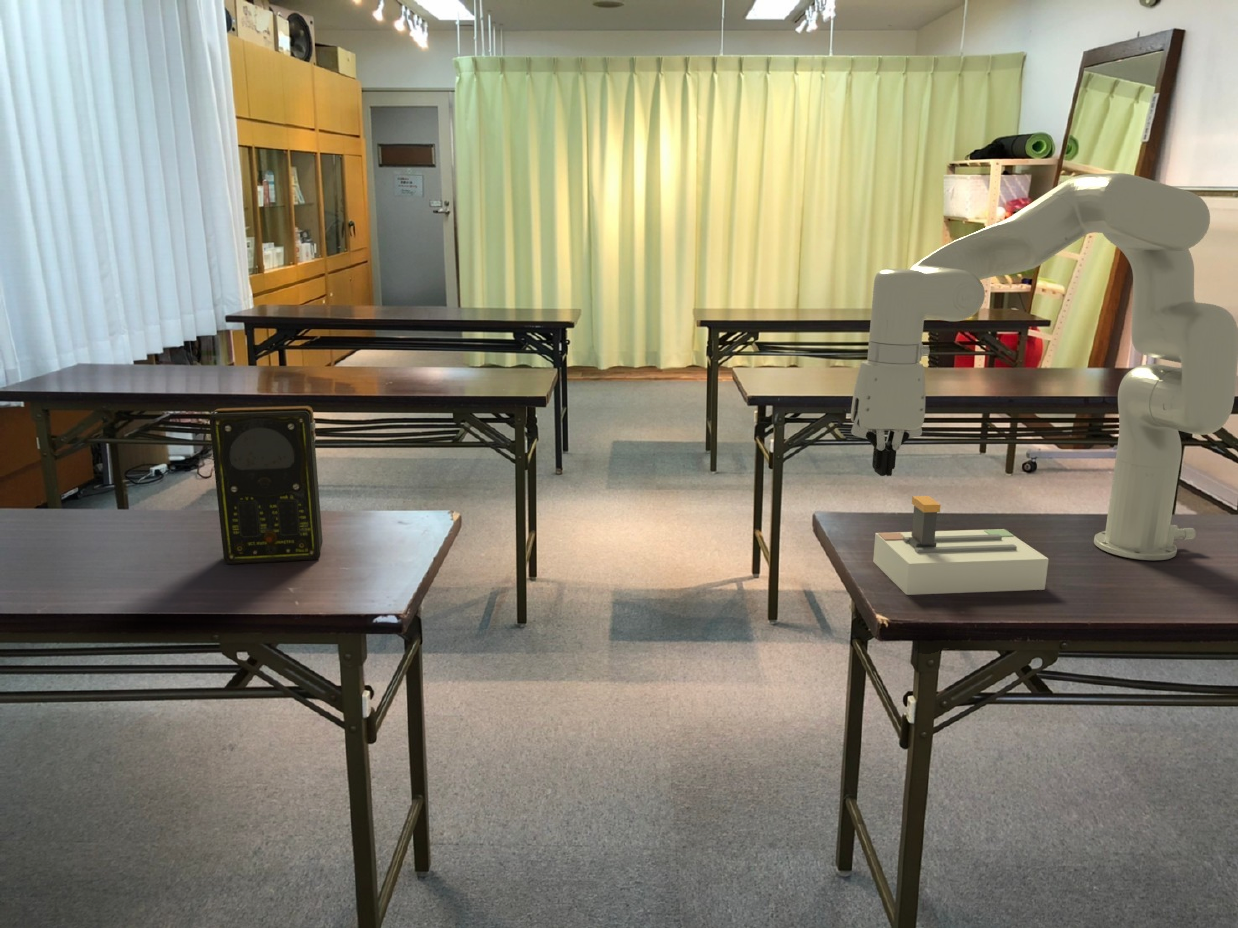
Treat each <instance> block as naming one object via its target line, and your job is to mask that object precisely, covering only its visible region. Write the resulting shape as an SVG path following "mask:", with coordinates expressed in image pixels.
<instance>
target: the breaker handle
mask: <svg viewBox="0 0 1238 928" xmlns="http://www.w3.org/2000/svg"><path fill="white" fill-rule="evenodd" d="M911 504H912V505H913V514H912V515H913V516H912V525H911V526H912V527H911V532H912V537H909V544H910V545H911V546H912V547H914V548H918V547H936V542H935V541H934V540H935V531H936V530H937V529H936V527H937V517H938V516H937V515H938V513H940V512H941V504H940V503H939V502H937V501H936V500H935V499H933V498H932V497H930V496H929V495H913V496H912V497H911Z"/></svg>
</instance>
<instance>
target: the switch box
mask: <svg viewBox="0 0 1238 928" xmlns="http://www.w3.org/2000/svg"><path fill="white" fill-rule="evenodd" d="M874 536H875V537H874V545H873V547H874V548H873V549H874V550H873V561H872V562H873V563H874V564H875V565H876V567H878V568H879V569H880V570H881V571H882V572H883V573H884V574H885V575H886V576H887V578H889V579H890V581H892V582H893V583H894V584H895V585H896V587H898V588H899V589H900V590H901V591H902V592H903V593H904V594H905V595H906V596H907V595H908V596H909V595H912V596H913V595H932V594H934V595H938V594H962V593H963V594H964V593H986V592H987V593H990V592H992V593H993V592H1014V591H1015V592H1017V591H1018V592H1019V591H1020V592H1021V591H1033V590H1034V591H1037V590H1039V591H1042V590H1045V589H1046V583H1047V582H1046V580H1047V574H1048V567H1049V558H1048V557H1047V556H1045V555H1044V554H1042V553H1041V552H1040V551H1037V549H1034V548H1033V547H1032V546H1030V545H1028V543H1025V542H1024V541H1022V539H1019V537H1017V536H1015V535H1014V534H1013V533H1011V532H1009V530H1007V529H1006V528H1002V529H1001V528H1000V529H999V528H997V529H996V528H995V529H965V530H964V529H963V530H962V529H961V530H935V540H934V541H935V542H936V547H918V548H914V547H912V546H911V545H910V544H909V537H912V531H899V532H898V531H897V532H896V531H895V532H875V534H874Z"/></svg>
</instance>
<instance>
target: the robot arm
mask: <svg viewBox="0 0 1238 928" xmlns="http://www.w3.org/2000/svg"><path fill="white" fill-rule="evenodd" d="M1210 223H1211V213H1210V209H1209V207H1208V205H1207V203H1206V202H1205V201H1204V199H1203V198H1202V197H1201V196H1199V195H1197V193H1194V192H1191V191H1190V190H1186V189H1184V188H1183V189H1182V188H1179V187H1175V186H1172V185H1168V184H1165V183H1162V182H1159V181H1156V180H1152V179H1150V178H1146V177H1143V176H1139V175H1134V174H1132V173H1131V174H1130V173H1125V172H1124V173H1122V172H1118V173H1117V172H1115V173H1113V172H1112V173H1109V172H1108V173H1087V174H1086V173H1085V174H1080V175H1076V176H1072V177H1070V178H1069V179H1067V180H1065V181H1063V182H1062V183H1060V184H1058V185H1057V186H1055V187H1054V188H1052V189H1051V190H1049V191H1047V192H1046V193H1045V194H1042V195H1041V196H1039V197H1038V198H1037V199H1035V200H1034V201H1033V202H1031V203H1030V204H1028V205H1027V206H1024V207H1023V208H1022V209H1019V211H1017V212H1015V213H1014V214H1013V215H1010V216H1009V217H1007V218H1005V219H1004V220H1001V221H1000V222H996V223H994V224H991V225H989V226H986V227H985V228H981V229H980V230H978V231H975V232H973V233H971V234H970V233H969V234H968V235H966V236H963V237H960V238H958V239H955V240H954V241H952V242H950V243H948V244H946V245H943V246H942V247H940V248H938V249H937V250H935V251H933V252H932V253H929V254H928V255H927V256H925V257H924V258H922V259H921V260H920V261H918V262H916V263H915V264H913V265H912V266H911V267H910V268H887V269H886V268H885V269H882V270H879V271H878V272H877V273H876V275H875V277H874V280H873V281H874V282H873V287H872V288H873V291H872V301H871V312H870V323H869V324H870V325H869V326H870V327H869V335H868V338H869V339H868V346H867V347H868V349H867V360H863V361H861V362H860V365H859V368H858V372H857V376H856V381H855V385H854V390H853V395H852V400H851V401H852V403H851V407H850V408H851V410H850V420H851V422H852V423H853V424H852V427H851V430H850V433H851V434H852V435H853V436H854V437H858V438H862V439H866V440H867V441H868V443H870V444H871V446H872V447H873V452H872V464H871V465H872V469H873V470H874V472H875V473H876V474H878V475H879V476H880V477H885V476H887V477H892V476H893V470H895V467H896V460H897V459H896V458H897V451H898V450H900V449H901V446H902V445H903V444H904V443H905V442H906V441H907V440H908V439H914V438H916V437H917V438H918V437H920V436H922V434H923V429H922V426H924V421H925V415H926V396H927V395H926V377H925V369H924V364H922V363H921V361H922V357H924V356H929V355H930V353H931V351H930V347H929V346H924V344H923V343H922V342H923V332H924V323H925V322H924V321H925V320H926V319H929V320H930V319H932V320H940V321H947V322H960V321H965V320H967V319H969V318H972V317H973V316H974V315H976V314H977V313H978V312H979V310H981V308H982V307H983V304H984V301H985V296H986V295H985V294H986V293H985V287H984V284H983V283H982V281H983V280H985V279H988V278H993V277H994V278H995V277H1000V276H1007V275H1013V274H1018V273H1023V272H1025V271H1029V270H1033V269H1035V268H1038V267H1039V266H1041V265H1042V264H1044V263H1045V262H1047V261H1048V260H1050V259H1051V258H1053V257H1054V256H1055V255H1057V254H1058V253H1060V252H1062V251H1064V249H1066V248H1068V247H1070V246H1071V245H1072V244H1075V242H1077V241H1078V240H1080V239H1082V238H1083V237H1084V236H1086V235H1089V234H1092V233H1095V234H1097V233H1098V234H1103V236H1104V238H1105V239H1106V240H1107V241H1109V242H1110V243H1111V244H1112V245H1113V246H1116V247H1117V248H1118V249H1119V250H1120V251H1121V252H1122V254H1124V256H1125V258H1126V259H1127V261H1128V263H1129V264H1130V267H1131V270H1132V277H1133V278H1132V279H1133V281H1132V282H1133V283H1132V285H1133V287H1132V289H1133V290H1132V291H1133V292H1132V309H1131V331H1130V332H1131V334H1130V335H1131V342H1132V345H1133V347H1134V349H1135V350H1136V351H1137V352H1138V353H1140V354H1142V355H1144V356H1146V357H1151V358H1155V359H1158V360H1159V359H1160V360H1164V361H1169V362H1174V363H1178V364H1179V363H1180V364H1181V368H1180V367H1175V366H1170V365H1165V364H1157V363H1147V364H1142V365H1138V366H1136V367H1134V368H1132V369H1131V370H1129V371H1128V372H1127V373H1126V374H1124V376H1123V378H1122V379H1121V381H1120V384H1119V386H1118V391H1117V408H1118V420H1119V421H1118V422H1119V423H1118V424H1119V425H1118V427H1119V428H1118V439H1117V448H1116V455H1115V462H1114V469H1113V474H1112V475H1113V476H1112V483H1111V490H1110V497H1109V504H1108V510H1107V511H1108V512H1107V517H1106V518H1107V519H1106V525H1105V530H1103V531H1100V532H1098V533H1095V535H1094V539H1093V543H1094V545H1095V546H1096V547H1097V548H1098V549H1100V550H1101V551H1104V552H1107V553H1108V554H1111V555H1115V556H1119V557H1123V558H1128V559H1133V560H1140V561H1164V560H1166V561H1167V560H1169V559H1172V558H1174V557H1175V556H1176V555H1177V552H1178V547H1177V546H1176V545H1175V544H1174V542H1178V540H1193V539H1194V540H1195V538H1196V535H1197V533H1196V530H1195V528H1193V527H1181V528H1179V526H1178V525H1177V524H1171V521H1172V515H1173V511H1174V510H1173V509H1174V504H1175V497H1176V490H1177V484H1178V478H1179V473H1180V472H1179V471H1180V466H1181V460H1182V449H1183V448H1182V441H1181V436H1180V434H1179V431H1180V432H1184V433H1186V434H1187V433H1188V434H1193V435H1199V436H1205V435H1211V434H1213V433H1215V432H1218V431H1219V430H1221V429H1222V428H1223V427H1224V426H1225V424H1226V423H1227V422H1228V420H1229V419H1230V416H1231V414H1232V411H1233V406H1234V403H1235V395H1236V388H1237V386H1236V385H1237V373H1238V324H1237V322H1236V320H1235V318H1234V316H1233V314H1231V313H1230V312H1229V310H1227V309H1226V308H1224V307H1221V306H1220V305H1218V304H1217V305H1216V304H1213V303H1212V304H1211V303H1205V302H1197V301H1196V299H1195V264H1194V261H1193V256H1192V253H1191V252H1190V249H1191V248H1193V247H1195V246H1196V245H1198V244H1199V243H1200V242H1201V240H1203V238H1204V237H1205V235H1206V234H1207V233H1208V230H1209V229H1210ZM885 431H887V437H886V438H885Z"/></svg>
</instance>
